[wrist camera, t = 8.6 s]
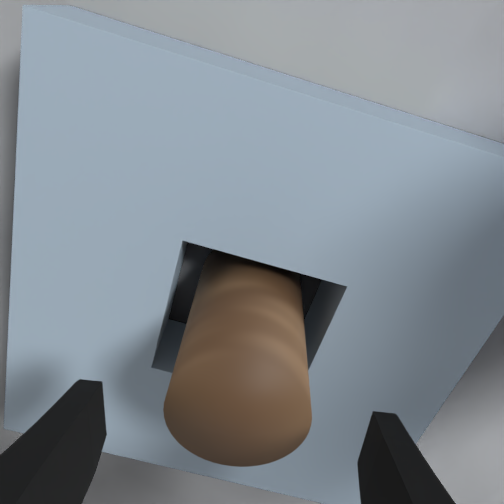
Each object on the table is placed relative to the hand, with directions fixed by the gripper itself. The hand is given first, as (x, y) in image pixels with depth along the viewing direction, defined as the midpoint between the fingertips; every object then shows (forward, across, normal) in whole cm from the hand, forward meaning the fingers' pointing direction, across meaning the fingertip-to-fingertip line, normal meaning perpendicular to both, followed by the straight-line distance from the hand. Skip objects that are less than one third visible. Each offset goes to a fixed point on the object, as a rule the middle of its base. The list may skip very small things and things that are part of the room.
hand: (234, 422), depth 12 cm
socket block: (+7, 0, 0) cm, 7 cm away
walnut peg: (+7, 0, 0) cm, 7 cm away
